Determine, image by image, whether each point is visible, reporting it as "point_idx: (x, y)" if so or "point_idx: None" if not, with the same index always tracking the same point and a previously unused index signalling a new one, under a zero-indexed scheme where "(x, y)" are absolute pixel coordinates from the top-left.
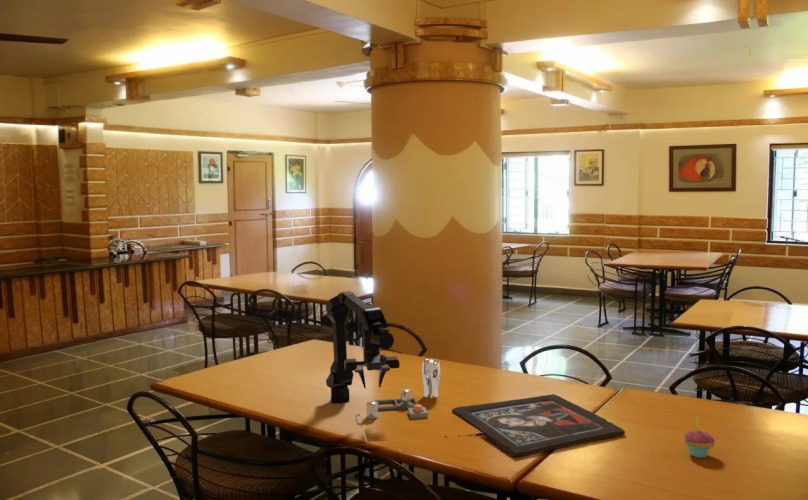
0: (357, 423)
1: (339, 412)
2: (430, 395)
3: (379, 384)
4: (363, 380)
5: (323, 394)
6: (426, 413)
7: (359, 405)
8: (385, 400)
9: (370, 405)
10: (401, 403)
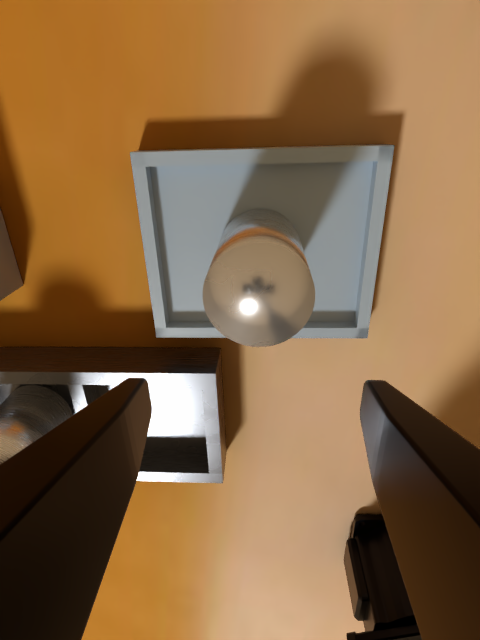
0: (390, 161)
1: None
2: None
3: (123, 401)
4: (470, 474)
5: None
6: None
7: (302, 484)
8: (154, 471)
9: (282, 247)
10: (54, 417)
